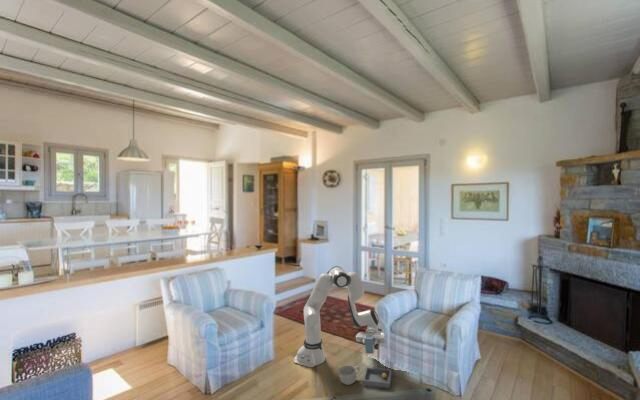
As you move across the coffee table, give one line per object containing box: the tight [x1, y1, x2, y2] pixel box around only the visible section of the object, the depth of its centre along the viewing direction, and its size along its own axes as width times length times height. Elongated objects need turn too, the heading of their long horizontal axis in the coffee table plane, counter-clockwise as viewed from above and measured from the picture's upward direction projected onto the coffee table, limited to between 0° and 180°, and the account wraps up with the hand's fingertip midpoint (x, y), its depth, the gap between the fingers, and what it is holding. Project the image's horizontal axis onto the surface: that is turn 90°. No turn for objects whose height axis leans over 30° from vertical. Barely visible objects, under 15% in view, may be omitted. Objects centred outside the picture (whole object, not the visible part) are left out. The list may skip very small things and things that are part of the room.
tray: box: [362, 366, 393, 390], centre depth 198 cm, size 16×14×4 cm
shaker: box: [364, 334, 375, 354], centre depth 212 cm, size 5×5×10 cm
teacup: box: [338, 364, 360, 386], centre depth 199 cm, size 14×11×8 cm
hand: (369, 343), depth 211 cm, fingers closed on shaker, 5 cm apart
